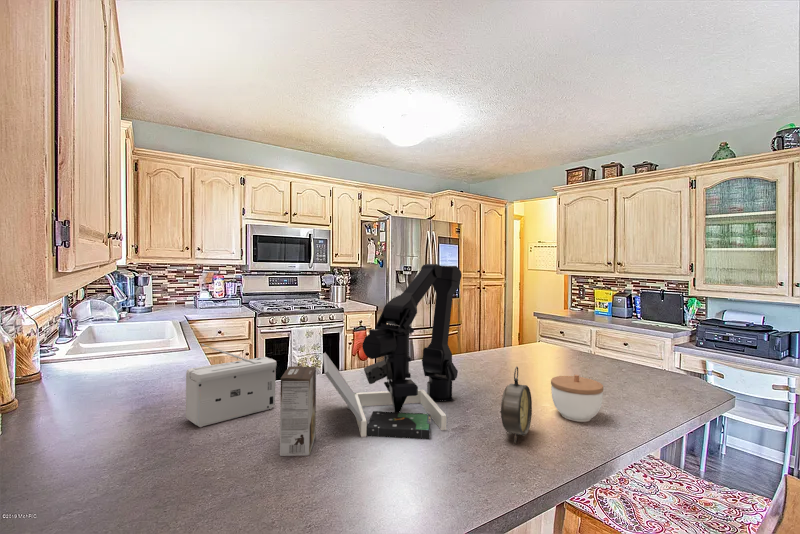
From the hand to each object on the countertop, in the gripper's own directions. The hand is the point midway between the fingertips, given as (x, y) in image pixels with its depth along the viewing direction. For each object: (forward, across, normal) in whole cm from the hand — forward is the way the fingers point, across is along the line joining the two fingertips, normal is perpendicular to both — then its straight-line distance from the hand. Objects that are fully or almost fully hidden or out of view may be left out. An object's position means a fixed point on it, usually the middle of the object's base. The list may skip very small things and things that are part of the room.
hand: (396, 412), depth 100 cm
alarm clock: (+2, +15, +25) cm, 29 cm away
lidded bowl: (+2, +7, +47) cm, 48 cm away
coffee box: (+2, +11, -24) cm, 26 cm away
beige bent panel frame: (+2, -1, -4) cm, 5 cm away
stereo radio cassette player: (+2, -10, -41) cm, 42 cm away
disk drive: (+2, +6, 0) cm, 6 cm away
